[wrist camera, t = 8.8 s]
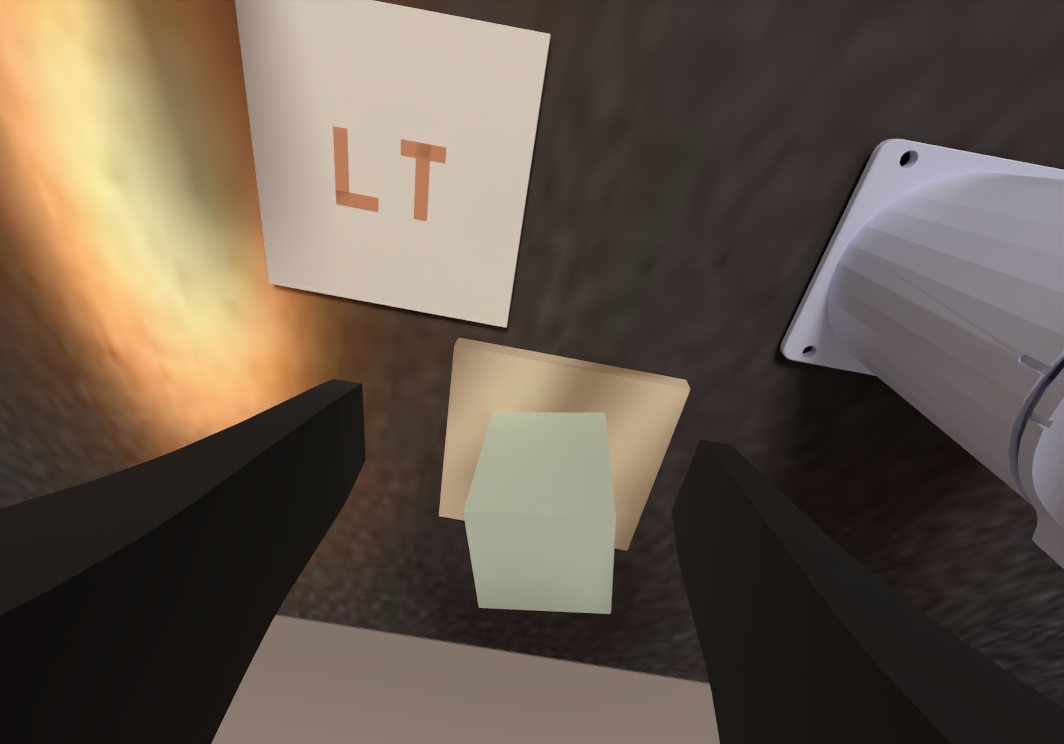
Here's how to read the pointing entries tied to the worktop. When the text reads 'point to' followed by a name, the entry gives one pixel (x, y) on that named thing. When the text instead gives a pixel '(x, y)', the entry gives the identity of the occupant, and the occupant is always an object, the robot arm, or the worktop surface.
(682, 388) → the birch board
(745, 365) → the worktop surface
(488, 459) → the sage block
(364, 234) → the tile
